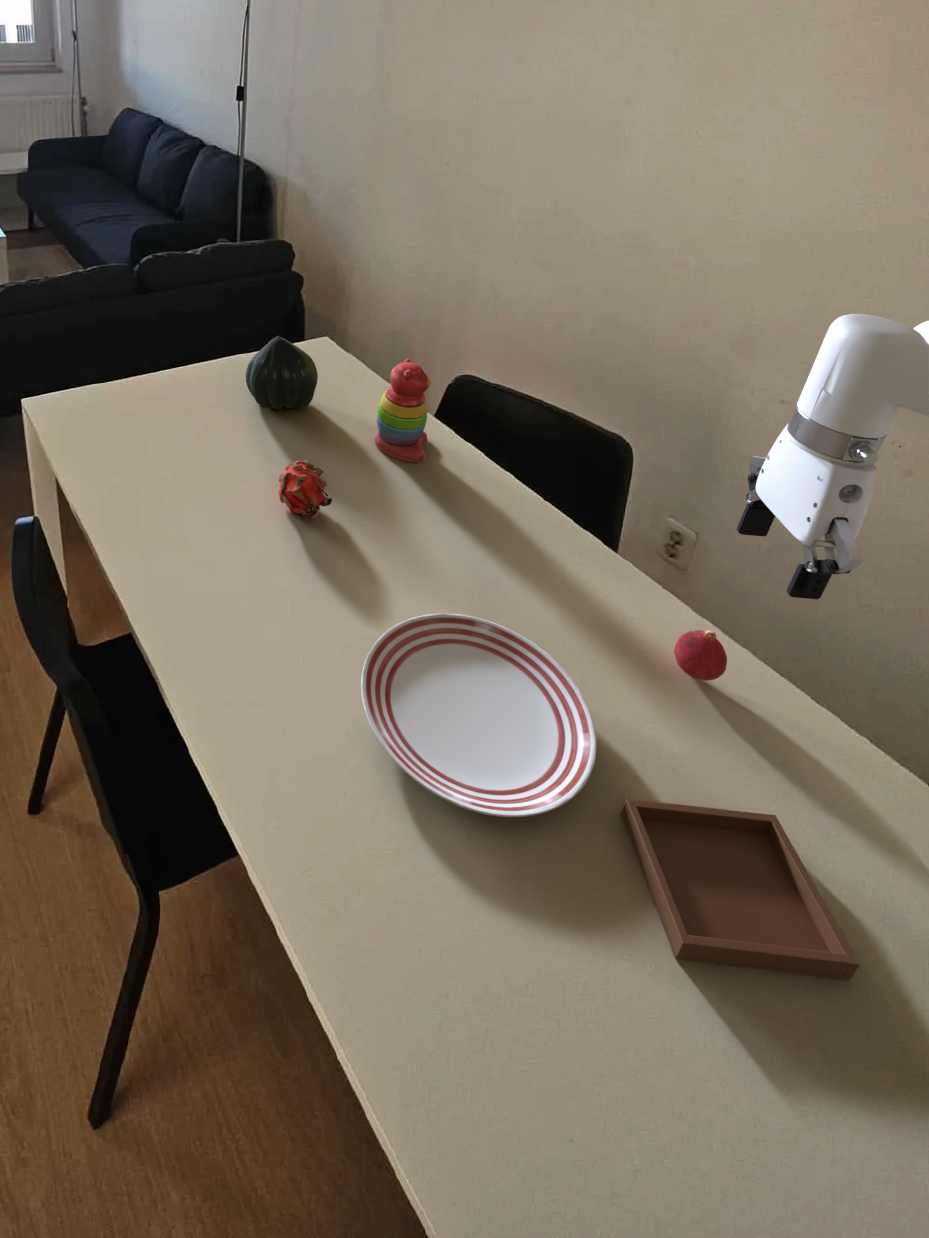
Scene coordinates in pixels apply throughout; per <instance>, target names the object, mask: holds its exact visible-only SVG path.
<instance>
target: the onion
mask: <svg viewBox="0 0 929 1238" xmlns="http://www.w3.org/2000/svg"><path fill="white" fill-rule="evenodd" d="M673 654H674V657H675V660H676V663H677V665H678V666H679V668H680V669H682V671H683V672H684V673H685V674H686V675H688V676H689V677H691V678H693V679H694V680H695V679H696V680H699V681H705V682H706V681H707V682H708V681H714V680H717V679H719V678H720V677H721V676H723V675H724V673H725V672H726V671H727V665H728V657H727V653H726V650H725V648H724V646H723V644H722V643H721V641H720V640H719V639H717V634H716V632H715V631H713V630H712V629H711V630H710V629H709V630H705V631H704V630H700V629H698V630H690V631H686V632H685V633H683V634H681V635H680V636H679V637H678V639H677V640H676V643H675V645H674V649H673Z"/></svg>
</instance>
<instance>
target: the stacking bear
mask: <svg viewBox="0 0 929 1238" xmlns="http://www.w3.org/2000/svg"><path fill="white" fill-rule="evenodd" d="M389 377H390V380H389V381H390V386H389V388H387V389H386V390H385V391H384V392H383V395H382V396H381V399H380V402H379V404H378V407H377V411H376V413H377V414H376V425H377V432H376V434H375V436H374V445H375V446H376V447H377V449H378V450H380V451H381V452H383V453H385V454H386V455H388V456H390V457H392V458H394V459H397V460H401V461H404V462H409V463H412V464H413V463H414V464H418V463H422V462H423V461H424V459H425V458H426V457H425V456H426V454H425V451H424V449H423V446H424V445H425V444H426V443H427V442H428V434H427V433H426V431H425V428H426V425H427V421H428V410H427V402H426V395H425V392H426V391H427V390H428V389H429V388H430V385H431V384H432V383H431V379H430V377H429V376H428V375H427V374H426V373H425V371H424V370H423V368H422V367H421V366H420V365H419V364H418V363H415V362H411V358H406V359H404V361H403V362H400V363H398V364H396V366H394V367H393V368H392V370H391V372H390V376H389Z"/></svg>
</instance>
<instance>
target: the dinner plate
mask: <svg viewBox="0 0 929 1238" xmlns="http://www.w3.org/2000/svg"><path fill="white" fill-rule="evenodd" d="M360 691H361V701H362V705H363V708H364V712H365V716H366V718H367V721H368V723H369V725H370V727H371V730H372V732H373V734H374V735H375V738H376V739H377V740H378V742H379V744H380V745H381V746H382V748H383V750H384V751H385V752H386V753H387V755H388V756H389V757H390V758H391V759H392V761H394V763H395V764H396V765H397V766H398V767H399V768H400V769H401V770H402V771H403V772H404V773H405V774H407V775H408V776H409V777H410V778H411V779H412V780H414V781H415V782H416V783H417V784H419V785H420V786H421V787H423V788H424V789H426V790H427V791H428V792H430V793H432V794H433V795H435V796H437V797H438V798H440V799H442V800H444V801H446V802H448V803H450V804H453V805H454V806H457V807H459V808H462V809H464V810H467V811H471V812H474V813H476V814H477V813H478V814H482V815H487V816H491V817H492V816H493V817H498V818H500V817H501V818H525V817H532V816H537V815H541V814H545V813H548V812H550V811H552V810H556V809H557V808H560V807H562V806H563V805H565V804H566V803H568V802H569V801H571V800H572V799H573V798H574V797H576V795H578V794H579V793H580V792H581V791H582V789H583V788H584V787H585V785H586V784H587V782H588V781H589V778H590V777H591V774H592V772H593V769H594V767H595V763H596V757H597V747H598V746H597V733H596V728H595V723H594V719H593V716H592V714H591V711H590V708H589V705H588V704H587V701H586V699H585V698H584V695H583V694H582V692H581V690H580V689H579V688H578V686H577V684H576V683H575V682H574V680H573V678H571V676H570V675H569V673H568V672H567V671H566V670H565V668H563V666H561V664H560V663H559V662H558V661H557V660H555V659H554V658H553V657H552V656H551V655H550V654H549V653H548V652H547V651H545V650H544V649H543V648H541V647H540V646H539V645H537V644H536V643H534V642H533V641H531V640H530V639H529V638H527V637H525V636H524V635H521V634H519V633H517V632H516V631H514V630H512V629H510V628H508V627H505V626H503V625H501V624H499V623H495V622H493V621H490V620H487V619H485V618H484V619H483V618H481V617H476V616H472V615H466V614H460V613H430V614H422V615H417V616H414V617H412V618H408V619H405V620H403V621H401V622H399V623H397V624H394V626H392V627H390V628H389V629H387V630H386V631H385V632H384V633H383V634H381V636H380V637H379V638H378V639H377V640H376V641H375V642H374V644H373V646H372V647H371V648H370V650H369V652H368V654H367V655H366V658H365V660H364V663H363V667H362V672H361V680H360Z"/></svg>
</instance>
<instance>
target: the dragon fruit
mask: <svg viewBox="0 0 929 1238" xmlns="http://www.w3.org/2000/svg"><path fill="white" fill-rule="evenodd" d="M284 470H285V471H284V472H283V473H280V474H279V477H278V482H279V491H278V497H279V500H280V502H281V503H283V504H285V506H286V507H287V508H288V509H289V511H290V512H291V513H292V515H293V516H295V517H296V518H297V519H300V520H301V521H302V520H303V521H304V517H303V516H304V515H306V516H307V517H309V518H310V519H314V518H316V517H317V516H318V515H320V510H321V508H320V506H321V507H323V508H324V507H326V506H327V507H328V506H330V505H331V504H332V502H333V497H329V494H328V493H327V492H326V491H325V488H326V487H328V483H327V482H326V481H325V480H323V479H322V478H321V476H322V475H323V473H324V470H323V469H322V468H321V467H315V465H314V464H313V463H312V462H311V461H309V460H301V459H298V460H296V461H295V462H294V463H293V464H292V463H291V464H288V465H287V466H285V468H284Z"/></svg>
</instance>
